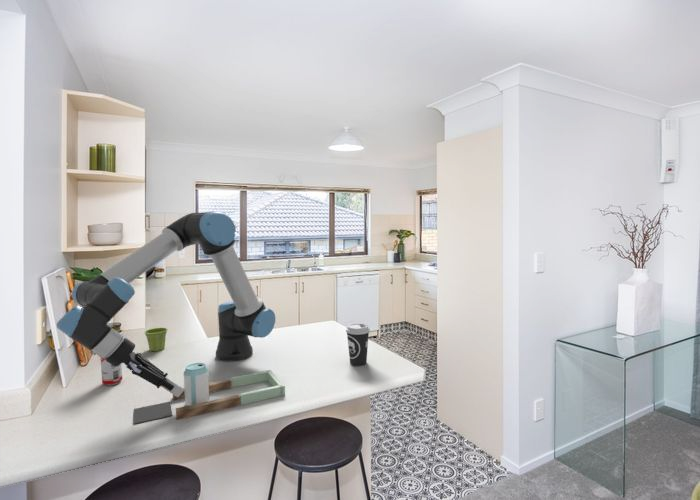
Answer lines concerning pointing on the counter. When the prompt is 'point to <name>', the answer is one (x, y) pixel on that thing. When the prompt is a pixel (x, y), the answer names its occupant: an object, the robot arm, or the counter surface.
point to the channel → (209, 405)
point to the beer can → (110, 373)
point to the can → (196, 384)
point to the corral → (259, 394)
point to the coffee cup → (358, 343)
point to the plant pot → (156, 338)
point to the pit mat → (152, 412)
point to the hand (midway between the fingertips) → (180, 392)
